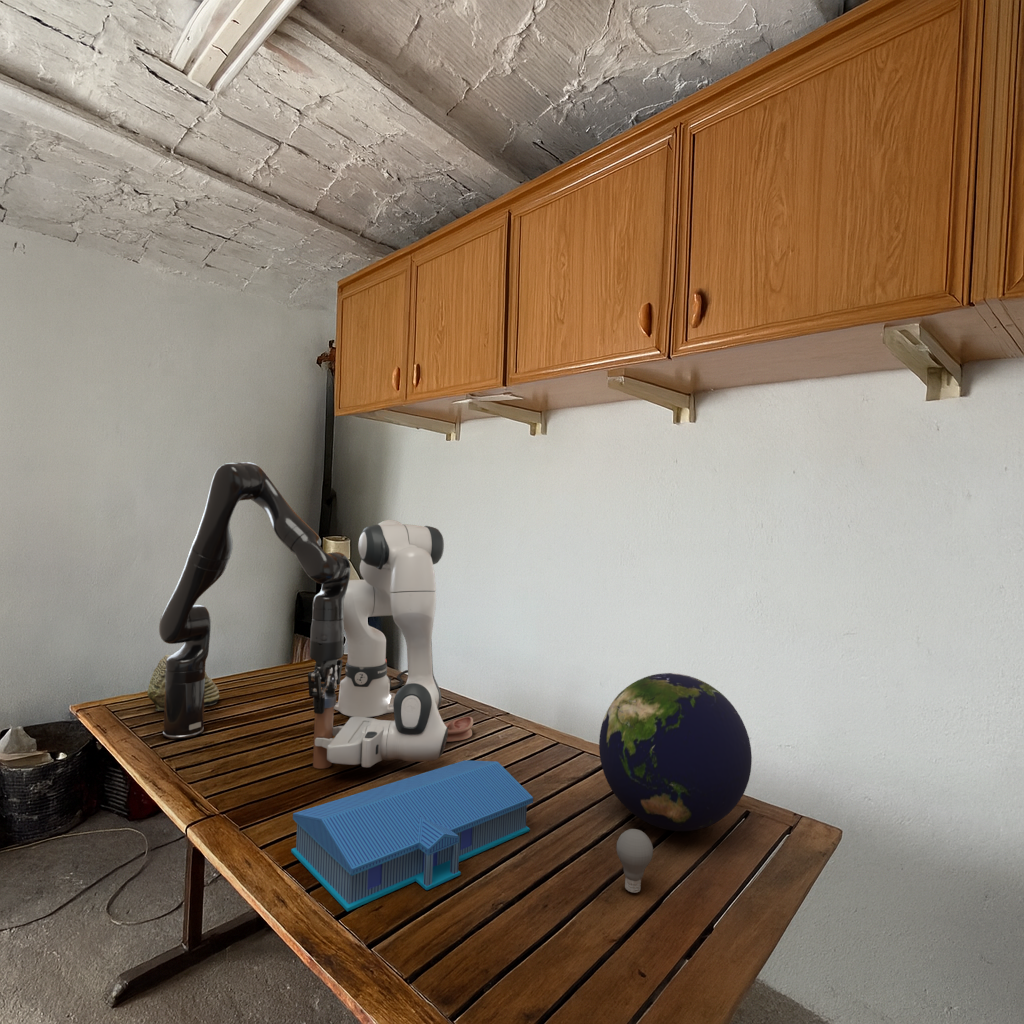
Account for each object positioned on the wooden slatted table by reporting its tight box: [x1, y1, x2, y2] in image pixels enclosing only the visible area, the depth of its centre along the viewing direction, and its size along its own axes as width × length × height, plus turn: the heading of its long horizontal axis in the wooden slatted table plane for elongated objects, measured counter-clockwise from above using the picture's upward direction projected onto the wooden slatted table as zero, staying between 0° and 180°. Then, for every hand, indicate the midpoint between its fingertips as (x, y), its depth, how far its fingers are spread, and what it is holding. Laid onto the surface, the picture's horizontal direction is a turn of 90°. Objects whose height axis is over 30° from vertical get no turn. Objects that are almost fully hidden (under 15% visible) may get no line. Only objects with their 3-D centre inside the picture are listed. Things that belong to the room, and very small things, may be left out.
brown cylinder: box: [312, 707, 335, 770], centre depth 149 cm, size 4×4×16 cm
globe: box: [598, 672, 753, 832], centre depth 129 cm, size 30×30×30 cm
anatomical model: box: [444, 715, 474, 743], centre depth 171 cm, size 13×4×12 cm
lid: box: [312, 692, 337, 708], centre depth 149 cm, size 5×5×2 cm
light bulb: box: [615, 828, 654, 894], centre depth 106 cm, size 6×6×10 cm
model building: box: [290, 759, 534, 912], centre depth 117 cm, size 39×24×10 cm, turn 132°
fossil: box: [147, 654, 221, 712], centre depth 185 cm, size 9×18×15 cm, turn 132°
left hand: (324, 708), depth 149 cm, fingers closed on lid, 5 cm apart
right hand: (319, 736), depth 149 cm, fingers closed on brown cylinder, 4 cm apart
